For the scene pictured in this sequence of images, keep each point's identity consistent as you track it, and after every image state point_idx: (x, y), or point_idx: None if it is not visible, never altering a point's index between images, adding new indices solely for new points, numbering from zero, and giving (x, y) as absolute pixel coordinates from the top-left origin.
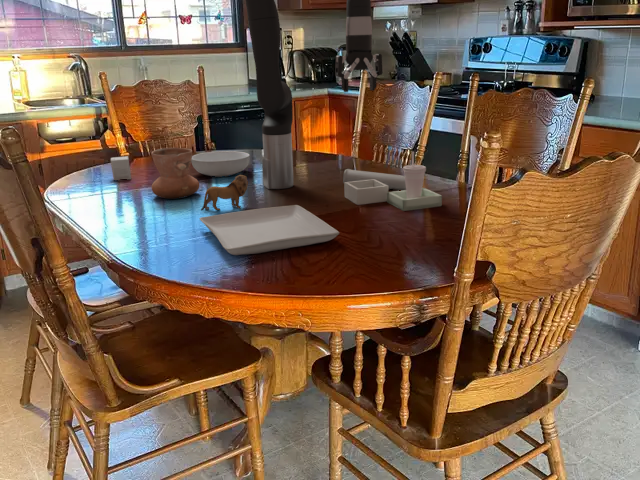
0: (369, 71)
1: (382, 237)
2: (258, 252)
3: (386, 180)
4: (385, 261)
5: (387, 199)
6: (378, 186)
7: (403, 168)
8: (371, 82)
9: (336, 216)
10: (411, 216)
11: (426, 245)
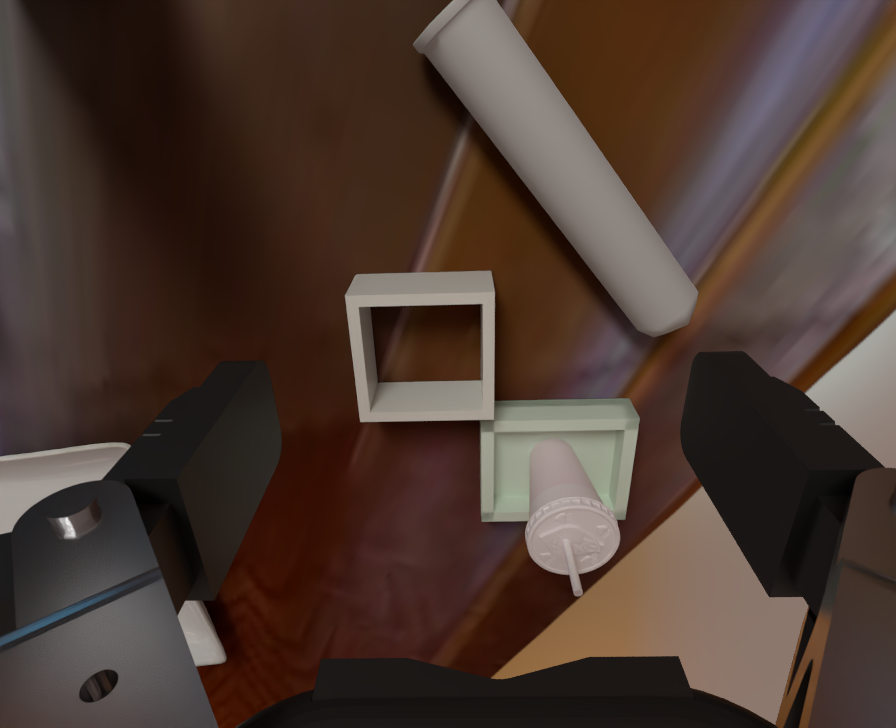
0: (784, 708)
1: (339, 636)
2: None
3: (574, 245)
4: None
5: None
6: (454, 412)
7: (530, 528)
8: (736, 486)
9: None
10: (476, 543)
11: None
